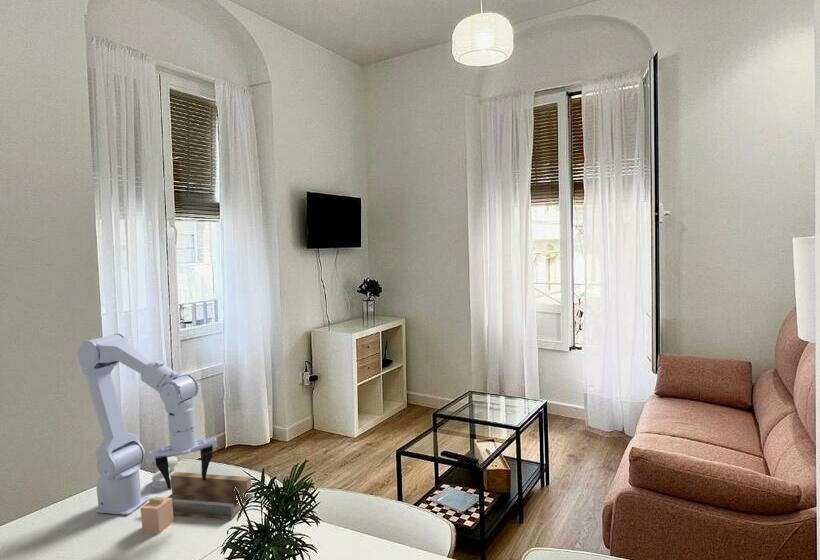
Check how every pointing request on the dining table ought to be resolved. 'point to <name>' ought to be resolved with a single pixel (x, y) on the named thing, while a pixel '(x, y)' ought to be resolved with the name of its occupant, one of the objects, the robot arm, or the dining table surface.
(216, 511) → the lip
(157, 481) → the wall hook
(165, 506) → the cabinet block
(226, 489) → the wall board
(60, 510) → the dining table surface
